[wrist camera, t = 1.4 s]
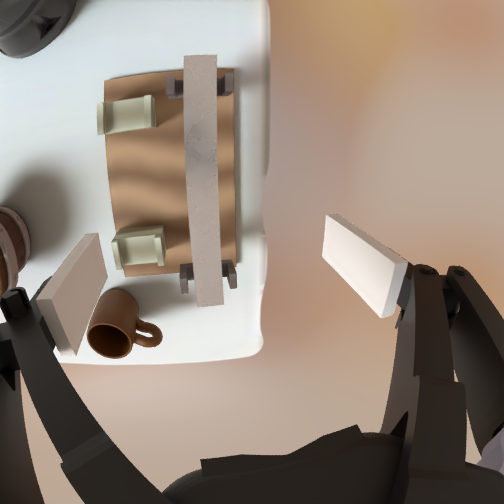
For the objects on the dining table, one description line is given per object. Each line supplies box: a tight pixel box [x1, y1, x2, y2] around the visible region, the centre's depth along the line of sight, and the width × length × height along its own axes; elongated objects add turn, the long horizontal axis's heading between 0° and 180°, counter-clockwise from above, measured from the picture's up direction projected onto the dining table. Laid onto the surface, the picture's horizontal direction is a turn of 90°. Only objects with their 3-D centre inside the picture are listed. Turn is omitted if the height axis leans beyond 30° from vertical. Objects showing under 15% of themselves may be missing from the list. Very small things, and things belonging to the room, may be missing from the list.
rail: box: [184, 55, 224, 307], centre depth 29 cm, size 28×3×3 cm, turn 0°
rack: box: [97, 69, 237, 294], centre depth 32 cm, size 30×18×12 cm, turn 0°
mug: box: [87, 289, 163, 359], centre depth 41 cm, size 12×8×9 cm, turn 78°
